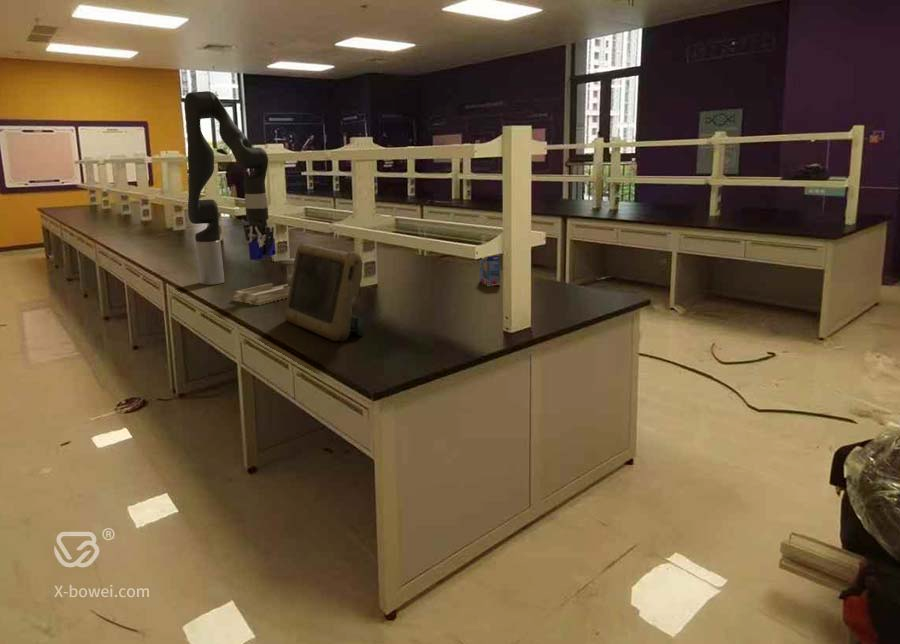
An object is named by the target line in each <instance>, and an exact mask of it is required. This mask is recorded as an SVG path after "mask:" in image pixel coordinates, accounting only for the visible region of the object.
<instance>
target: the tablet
mask: <svg viewBox="0 0 900 644" xmlns="http://www.w3.org/2000/svg"><path fill="white" fill-rule="evenodd" d="M294 258H295V260H294V265H293V266H294V271H293V275H292V278H291V284H290V289H289V293H288V296H287V299H286V302H285V306H284V307H285V308H284V318H285V321H286V322H289V323H291V324H293V325H295V326H298V327H301V328H302V329H305V330H308V331H310V332H311V333H312V332H313V333H315V334H316V335H319V336H321V337H324V338H325V339H328V340H329V341H331V342H341V343H343V342H345V341H346V340H348V339H349V337H350V335H351V331H354V332H355V333H356V335H357V336H359V337H364V334H365V333H364V319H363V318H360V317H358V316H355V315H353V314H352V313H353V310H352V306H351V305H352V301H353V299H354V297H356V296H358V295H359V293H360V292H359V291H360V287H361V282H362V278H363V272H362V271H363V260H362V256H361V254H360V253H358V252H357V251H349V252H347V251H344V250H337V249H331V248H326V247H323V246H322V245H320V244H319V245H316V244H312V243H311V242H310V241H309V240H308V241H306V240H305V241H302V242H301V243H299V244H298V246H297V249H296V253H295V257H294Z"/></svg>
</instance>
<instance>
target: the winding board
mask: <svg viewBox="0 0 900 644" xmlns="http://www.w3.org/2000/svg"><path fill="white" fill-rule="evenodd" d="M294 260H295V257H294V258H284V259H281V260H280V261H281V264H285V266H286V276H287V277H286V278H287V283H286V284H281V285H277V286H274V285H273V283H272V282H271V283H266V284H265V283H264V284H261V285H257V286H253V287H249V288H247V287H246V288H244V289H239V290H234V296H232V301H233V302H234V301H235V302H238V301H239V302H238V303H243V302H244V303H243V304H247V303H249V304H248V305H252V304H253V305H252V306H257V305H259V306H263V305H267V304H270V302H271V303H274V302H273V301H275V302H278V301H277V300H279V301H282V300H281V299H283V300H286V299H285V298H287V296H288V293H289V289H290V284H291V278H292V275H293V271H294V266H293V265H294ZM266 303H267V304H266ZM262 304H263V305H262Z"/></svg>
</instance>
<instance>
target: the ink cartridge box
mask: <svg viewBox="0 0 900 644" xmlns="http://www.w3.org/2000/svg"><path fill="white" fill-rule="evenodd" d="M478 262H479V266H478V267H479V269H478V270H479V282H480V281H481V282H483V283H485V284H487V285H492V284H500V285H501V257H500V254H498V255H497V256H492V257H488V258H485V259H483V260H479V261H478ZM481 282H480V283H481ZM483 283H482V284H483Z"/></svg>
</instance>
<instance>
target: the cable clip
mask: <svg viewBox="0 0 900 644" xmlns="http://www.w3.org/2000/svg"><path fill="white" fill-rule="evenodd" d="M264 240H266V239H265V238H264ZM269 240H270V237H269ZM275 241H276V239H275V237H273V243H270V244H269V251H270V252H269V255H263V248H262V246H260V244H259V242H258V241H257V242H249V241H248V252H249V259H250V261H251V260H252V261H260V260H262V259H265V258H268V257H271V256H274V255H275V256H276V253H277V251H276V242H275Z"/></svg>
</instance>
